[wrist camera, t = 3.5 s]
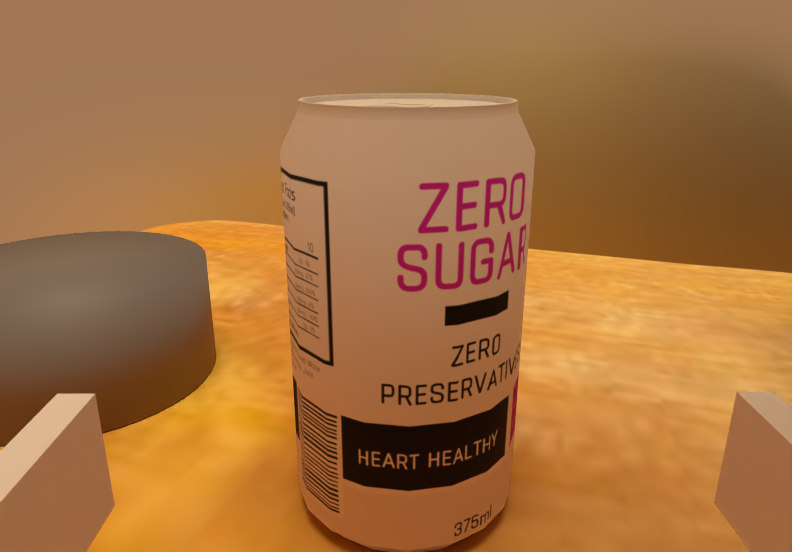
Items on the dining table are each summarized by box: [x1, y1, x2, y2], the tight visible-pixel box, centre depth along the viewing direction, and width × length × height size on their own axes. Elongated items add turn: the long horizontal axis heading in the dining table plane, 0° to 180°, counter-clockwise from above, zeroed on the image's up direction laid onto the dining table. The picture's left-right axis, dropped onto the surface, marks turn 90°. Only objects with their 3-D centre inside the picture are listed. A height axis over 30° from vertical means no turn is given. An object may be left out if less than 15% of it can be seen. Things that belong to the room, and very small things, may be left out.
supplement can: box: [280, 93, 535, 552], centre depth 23 cm, size 8×8×15 cm
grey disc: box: [0, 231, 216, 446], centre depth 33 cm, size 14×14×6 cm
